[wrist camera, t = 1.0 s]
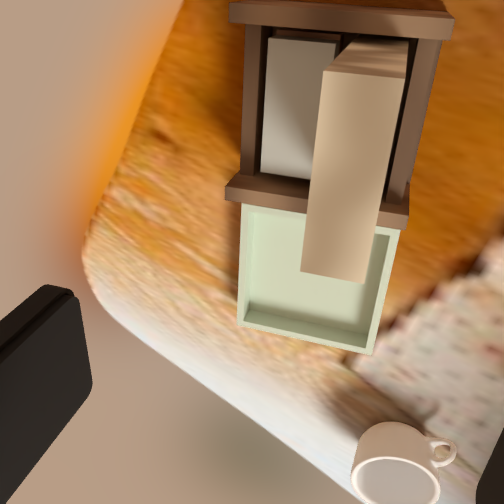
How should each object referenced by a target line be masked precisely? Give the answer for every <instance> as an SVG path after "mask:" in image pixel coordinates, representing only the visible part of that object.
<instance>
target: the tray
mask: <svg viewBox="0 0 504 504" xmlns="http://www.w3.org/2000/svg"><path fill="white" fill-rule="evenodd" d="M306 215H307V214H306V213H300V212H294V211H288V210H282V209H276V208H270V207H264V206H258V205H252V204H246V203H242V207H241V231H240V255H239V279H238V303H237V325H239V326H243V327H248V328H252V329H257V330H261V331H265V332H270V333H274V334H279V335H283V336H288V337H292V338H296V339H301V340H305V341H310V342H314V343H318V344H323V345H327V346H332V347H336V348H341V349H345V350H349V351H354V352H358V353H363V354H367V355H371V356H372V352H373V347H374V343H375V339H376V334H377V330H378V326H379V321H380V317H381V313H382V308H383V304H384V300H385V295H386V291H387V287H388V282H389V278H390V274H391V269H392V265H393V261H394V256H395V252H396V248H397V243H398V239H399V235H400V230H401V229H395V228H389V227H383V226H377V225H376V228H375V233H374V238H373V243H372V248H371V253H370V258H369V263H368V268H367V273H366V278H365V283H364V284H361V283H356V282H351V281H346V280H341V279H336V278H331V277H325V276H320V275H315V274H310V273H305V272H300V267H301V258H302V250H303V241H304V233H305V224H306Z"/></svg>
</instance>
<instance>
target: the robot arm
mask: <svg viewBox="0 0 504 504" xmlns="http://www.w3.org/2000/svg"><path fill="white" fill-rule="evenodd" d="M91 389H92V375H91V369H90V363H89V357H88V351H87V345H86V339H85V333H84V327H83V321H82V315H81V309H80V303H79V300H78V298H77V297H75V296H74V294H73V292H72V291H71V290H70V289H67V288H62V287H58V286H53V285H49V284H47V285H43V286H42V287H40V288H39V289H38V290H37V291H35V292H34V293H33V294H32V295H31V296H29V297H28V298H27V299H26V300H25V301H24V302H22V303H21V304H20V305H19V306H17V307H16V308H15V309H14V310H13V311H11V312H10V313H9V314H8V315H7V316H5V317H4V318H3V319H2V320H1V321H0V504H6V502H7V501H8V500H9V498H10V497H11V496H12V495H13V493H14V492H15V491H16V489H17V488H18V487H19V486H20V484H21V483H22V482H23V480H24V479H25V477H26V476H27V475H28V474H29V473H30V471H31V470H32V469H33V467H34V466H35V465H36V463H37V462H38V461H39V460H40V458H41V457H42V456H43V454H44V453H45V452H46V451H47V449H48V448H49V447H50V445H51V444H52V443H53V441H54V440H55V439H56V438H57V436H58V435H59V434H60V432H61V431H62V430H63V428H64V427H65V426H66V424H67V423H68V422H69V421H70V419H71V418H72V417H73V416H74V414H75V413H76V412H77V410H78V409H79V408H80V406H81V405H82V404H83V403H84V401H85V400H86V399H87V397H88V396H89V394H90V392H91ZM476 504H504V428H503V431H502V433H501V435H500V437H499V439H498V441H497V444H496V446H495V448H494V450H493V452H492V455H491V457H490V459H489V461H488V463H487V465H486V468H485V470H484V472H483V474H482V476H481V478H480V481H479V483H478V486H477V490H476Z"/></svg>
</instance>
